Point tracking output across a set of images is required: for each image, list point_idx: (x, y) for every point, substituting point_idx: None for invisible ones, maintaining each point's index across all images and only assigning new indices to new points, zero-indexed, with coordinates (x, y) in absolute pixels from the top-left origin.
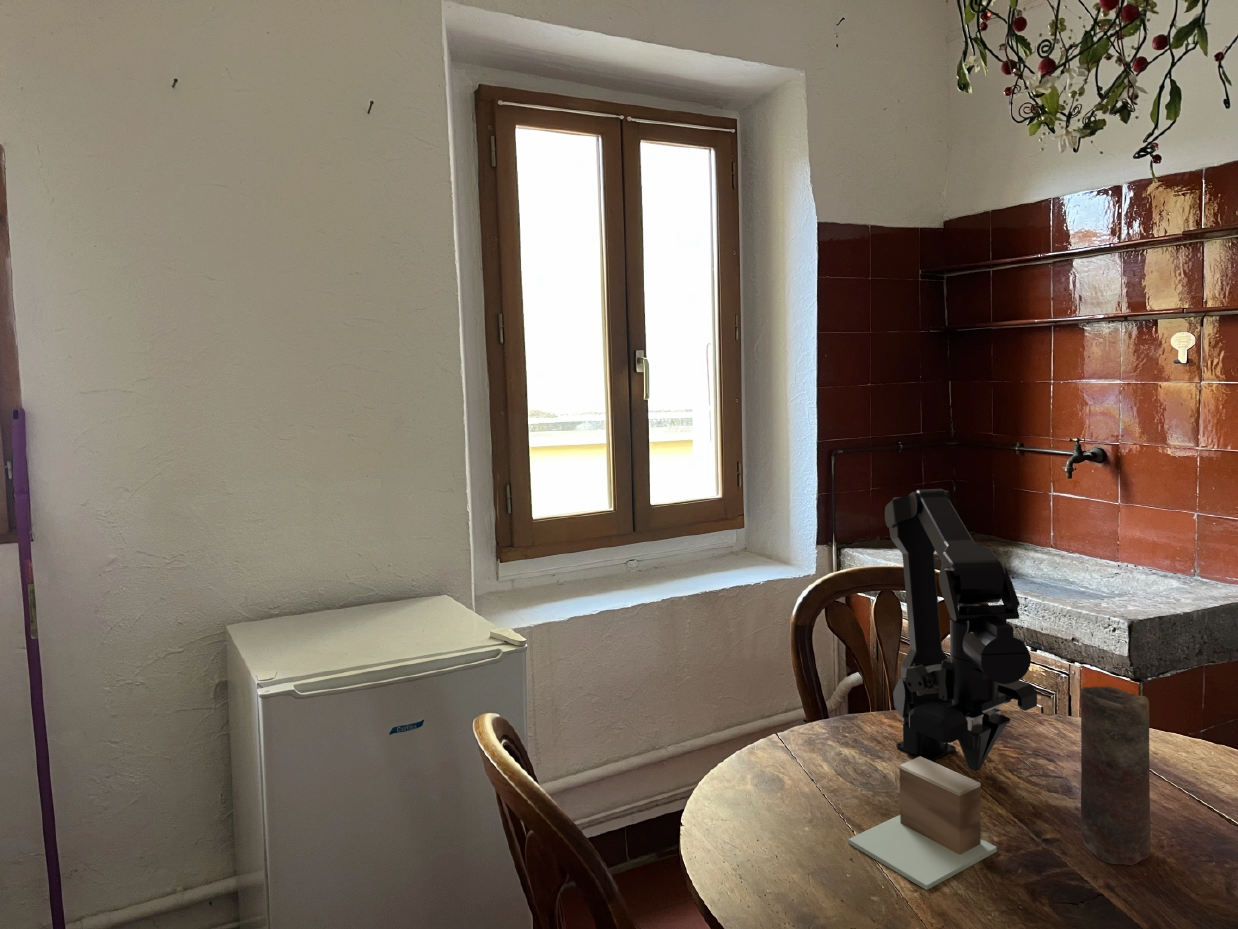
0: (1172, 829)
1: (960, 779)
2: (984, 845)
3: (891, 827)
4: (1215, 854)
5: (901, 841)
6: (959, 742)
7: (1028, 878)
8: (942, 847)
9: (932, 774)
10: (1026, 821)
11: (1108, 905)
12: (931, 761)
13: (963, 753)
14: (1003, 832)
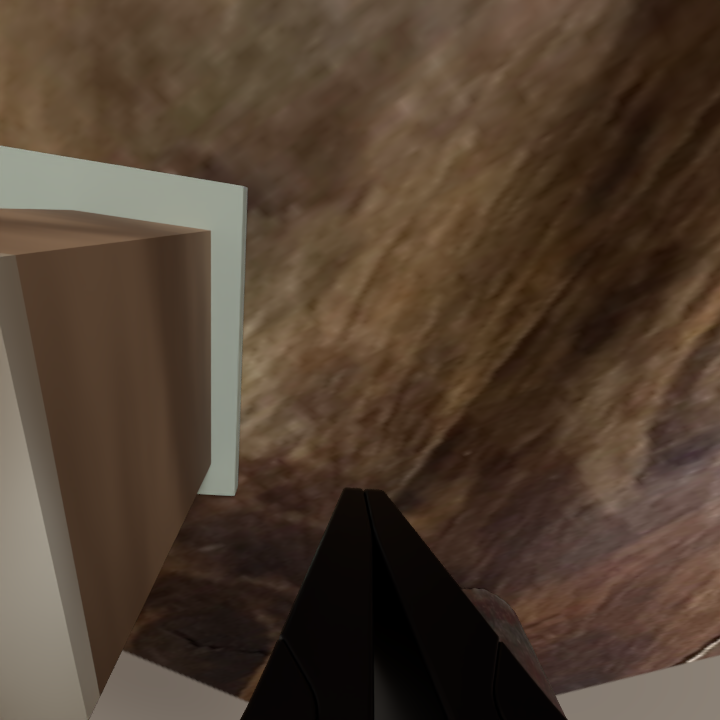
0: (593, 635)
1: (3, 659)
2: (213, 473)
3: (7, 201)
4: None
5: None
6: (256, 691)
7: (197, 570)
8: None
9: None
10: (444, 463)
11: (243, 669)
12: (7, 408)
13: (308, 569)
14: (345, 452)
